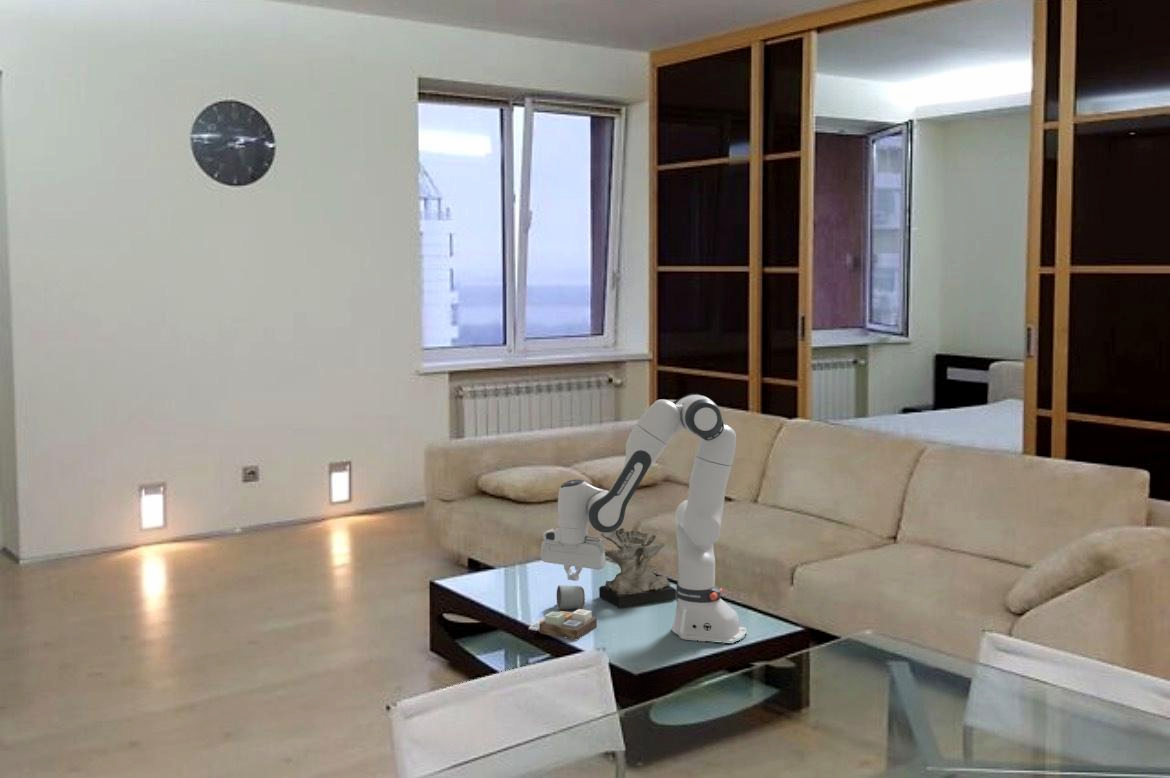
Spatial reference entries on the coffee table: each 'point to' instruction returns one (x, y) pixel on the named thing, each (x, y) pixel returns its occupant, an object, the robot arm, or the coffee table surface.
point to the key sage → (555, 618)
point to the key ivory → (582, 615)
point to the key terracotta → (567, 615)
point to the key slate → (572, 624)
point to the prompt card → (536, 625)
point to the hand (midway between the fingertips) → (573, 579)
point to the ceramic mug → (570, 597)
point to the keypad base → (568, 629)
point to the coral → (634, 572)
